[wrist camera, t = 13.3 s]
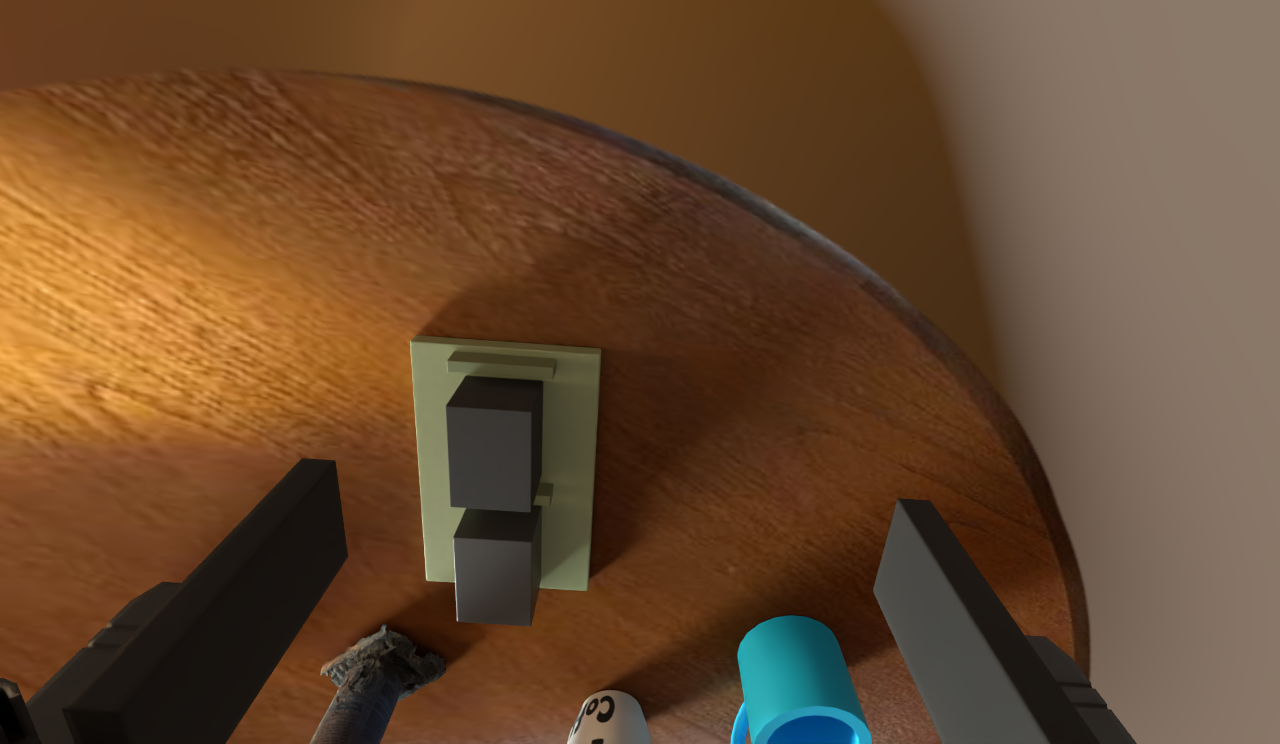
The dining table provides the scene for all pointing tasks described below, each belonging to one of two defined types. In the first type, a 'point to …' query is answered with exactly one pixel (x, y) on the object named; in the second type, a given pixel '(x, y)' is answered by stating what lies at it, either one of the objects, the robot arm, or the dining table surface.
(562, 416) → the dock
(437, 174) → the dining table surface
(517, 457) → the dark grey block
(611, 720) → the cup
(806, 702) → the mug
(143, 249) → the dining table surface
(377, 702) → the dark cylinder on base
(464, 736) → the dining table surface
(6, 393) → the dining table surface
